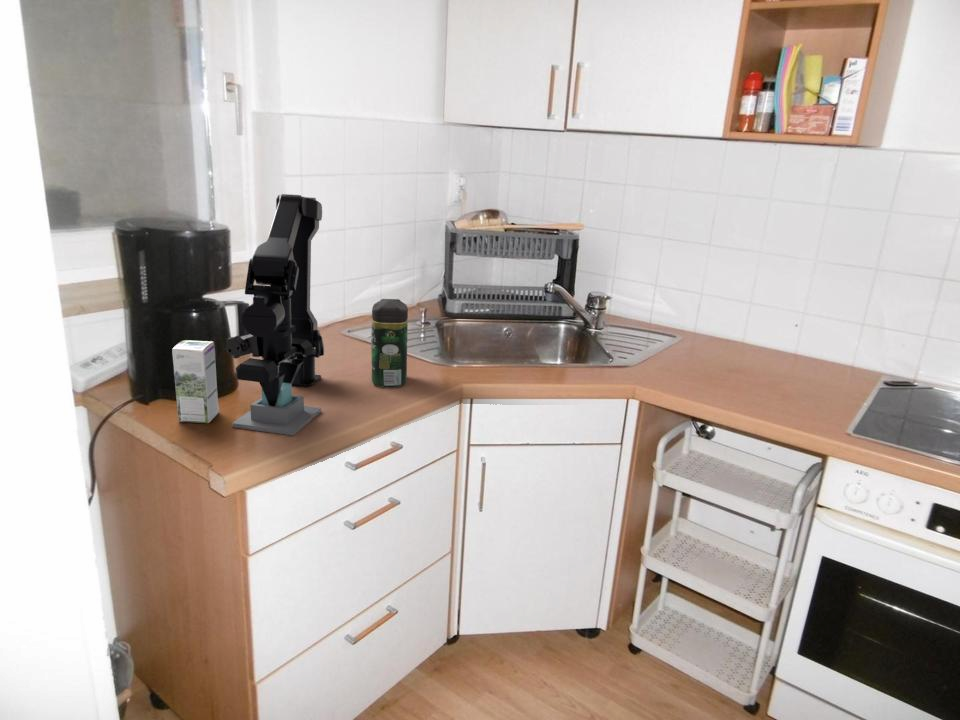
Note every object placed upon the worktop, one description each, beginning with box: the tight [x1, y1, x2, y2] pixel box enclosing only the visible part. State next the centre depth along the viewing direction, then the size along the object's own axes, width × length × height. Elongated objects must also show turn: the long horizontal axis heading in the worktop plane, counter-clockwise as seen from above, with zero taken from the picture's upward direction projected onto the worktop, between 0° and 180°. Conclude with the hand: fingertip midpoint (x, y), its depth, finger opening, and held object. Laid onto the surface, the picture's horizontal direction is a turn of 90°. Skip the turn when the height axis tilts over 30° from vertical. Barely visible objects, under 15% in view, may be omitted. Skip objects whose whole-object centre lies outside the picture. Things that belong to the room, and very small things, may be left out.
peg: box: [261, 382, 293, 408], centre depth 127 cm, size 4×4×4 cm
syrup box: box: [171, 339, 220, 424], centre depth 125 cm, size 6×6×14 cm
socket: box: [231, 394, 322, 437], centre depth 128 cm, size 12×12×4 cm
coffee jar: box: [370, 298, 409, 389], centre depth 149 cm, size 10×8×19 cm
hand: (277, 401), depth 127 cm, fingers closed on peg, 4 cm apart
